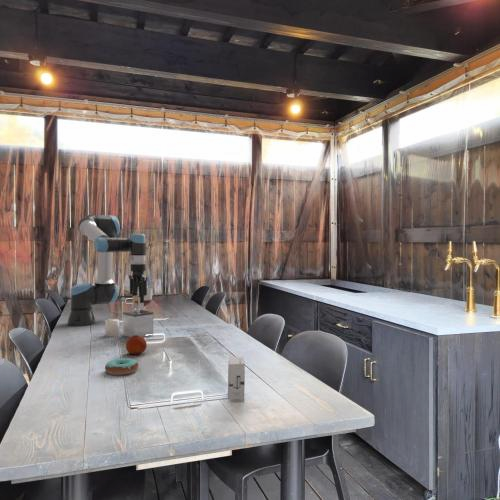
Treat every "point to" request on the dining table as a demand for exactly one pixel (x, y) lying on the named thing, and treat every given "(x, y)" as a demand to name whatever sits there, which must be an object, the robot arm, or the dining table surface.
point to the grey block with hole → (137, 323)
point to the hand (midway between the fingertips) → (138, 308)
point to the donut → (121, 366)
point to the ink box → (236, 379)
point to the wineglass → (147, 297)
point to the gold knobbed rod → (136, 302)
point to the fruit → (136, 345)
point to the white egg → (111, 327)
